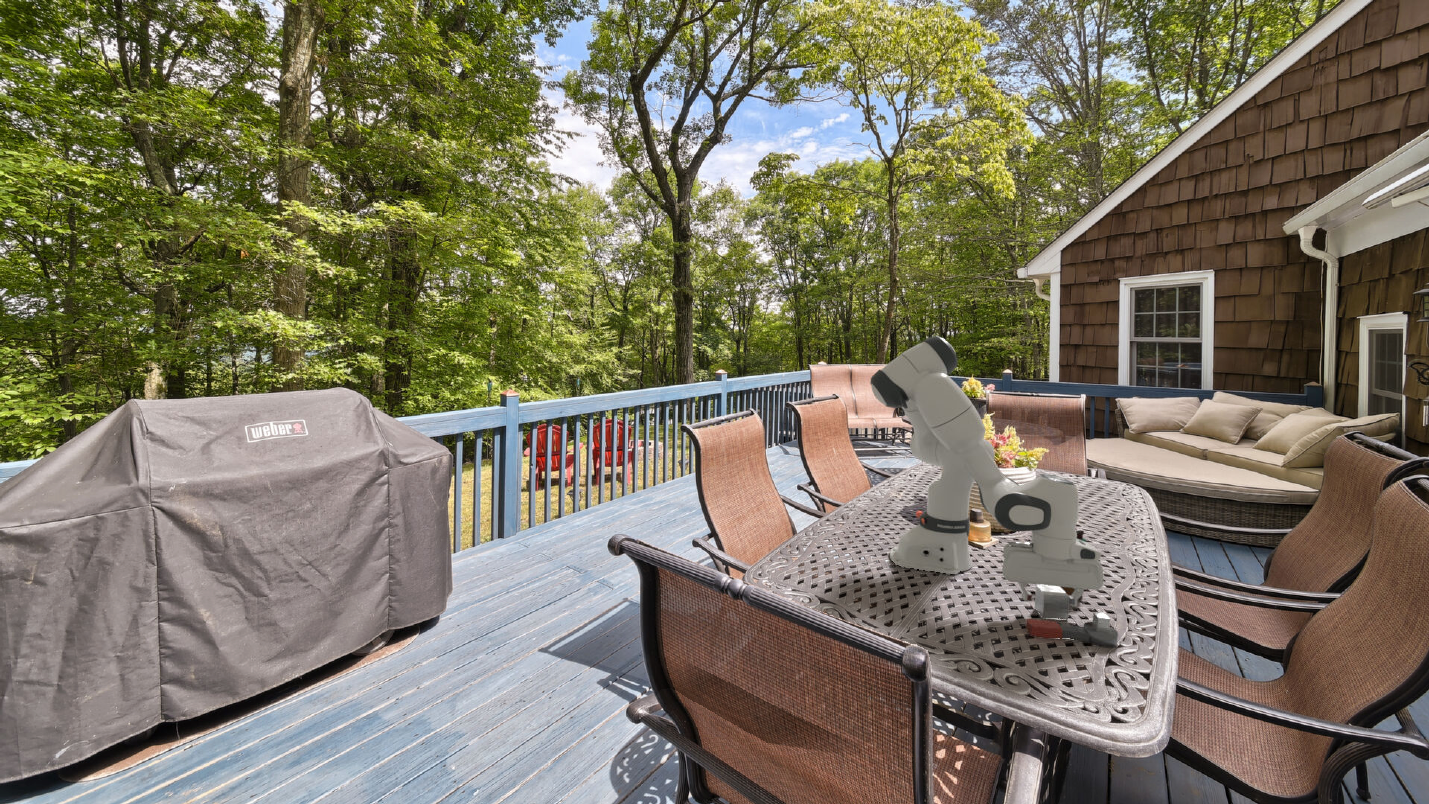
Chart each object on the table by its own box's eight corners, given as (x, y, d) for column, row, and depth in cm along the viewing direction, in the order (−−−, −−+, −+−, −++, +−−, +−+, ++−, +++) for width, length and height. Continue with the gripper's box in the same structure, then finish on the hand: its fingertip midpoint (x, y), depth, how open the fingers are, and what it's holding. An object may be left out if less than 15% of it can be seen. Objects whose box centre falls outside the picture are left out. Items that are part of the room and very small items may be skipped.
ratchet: (1033, 639, 117) (1034, 615, 116) (1023, 625, 122) (1025, 602, 122) (1122, 649, 113) (1124, 624, 113) (1108, 634, 119) (1110, 610, 118)
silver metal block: (1042, 618, 126) (1044, 594, 125) (1034, 608, 131) (1036, 584, 130) (1067, 621, 125) (1069, 596, 124) (1058, 610, 130) (1060, 586, 129)
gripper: (1008, 545, 125) (1004, 603, 126) (1109, 554, 120) (1104, 613, 121) (1000, 536, 131) (997, 591, 132) (1096, 544, 126) (1091, 601, 128)
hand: (1049, 602), depth 127 cm, fingers open, 8 cm apart
